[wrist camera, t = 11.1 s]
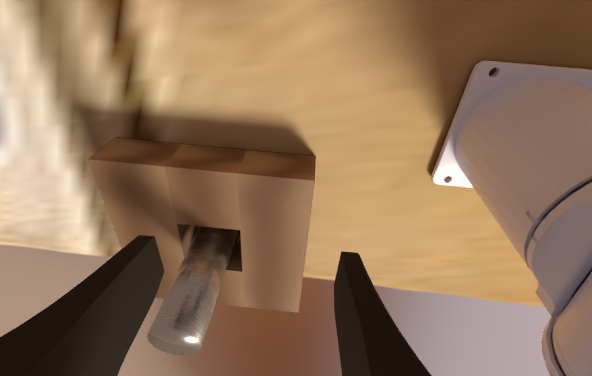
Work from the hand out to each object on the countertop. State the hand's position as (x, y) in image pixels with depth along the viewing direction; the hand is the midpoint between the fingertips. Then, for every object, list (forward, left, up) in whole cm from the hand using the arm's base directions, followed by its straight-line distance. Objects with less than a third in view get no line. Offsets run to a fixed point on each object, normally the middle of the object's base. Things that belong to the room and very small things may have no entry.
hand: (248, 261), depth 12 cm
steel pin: (+4, +8, -10) cm, 14 cm away
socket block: (+4, +8, -10) cm, 14 cm away
